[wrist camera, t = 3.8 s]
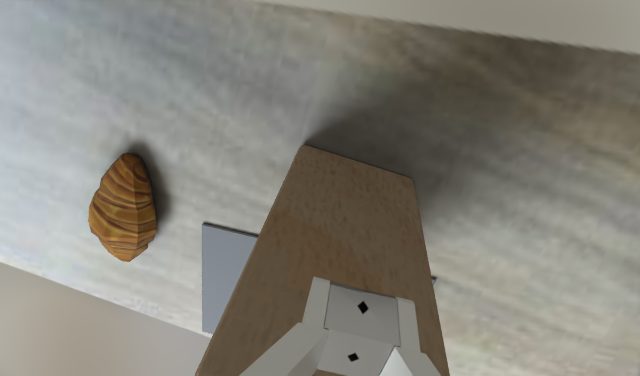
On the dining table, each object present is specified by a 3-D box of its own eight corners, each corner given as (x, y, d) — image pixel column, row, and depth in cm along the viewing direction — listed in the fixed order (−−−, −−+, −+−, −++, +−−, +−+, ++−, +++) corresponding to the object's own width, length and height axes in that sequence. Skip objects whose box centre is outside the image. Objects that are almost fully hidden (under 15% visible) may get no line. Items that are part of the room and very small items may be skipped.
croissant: (163, 260, 38) (137, 295, 34) (105, 240, 38) (71, 272, 34) (175, 163, 31) (143, 191, 27) (103, 136, 31) (60, 161, 27)
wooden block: (301, 140, 28) (189, 382, 11) (415, 177, 28) (473, 466, 11) (277, 229, 33) (177, 482, 17) (373, 259, 34) (370, 538, 17)
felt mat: (434, 278, 34) (434, 280, 34) (383, 373, 44) (383, 375, 43) (203, 223, 34) (201, 224, 34) (203, 329, 44) (202, 331, 44)
